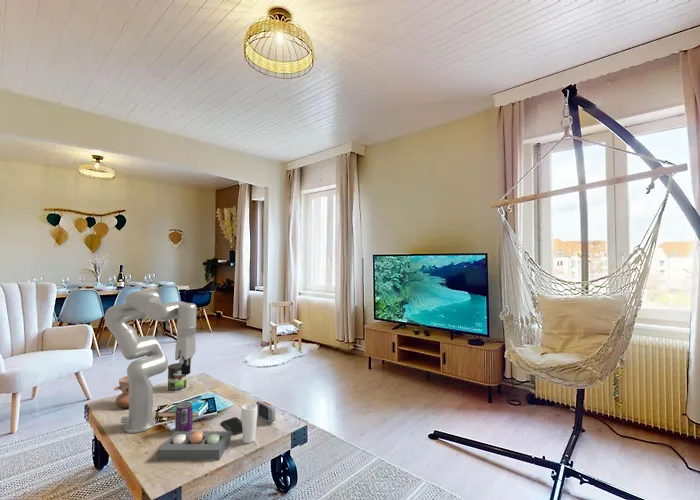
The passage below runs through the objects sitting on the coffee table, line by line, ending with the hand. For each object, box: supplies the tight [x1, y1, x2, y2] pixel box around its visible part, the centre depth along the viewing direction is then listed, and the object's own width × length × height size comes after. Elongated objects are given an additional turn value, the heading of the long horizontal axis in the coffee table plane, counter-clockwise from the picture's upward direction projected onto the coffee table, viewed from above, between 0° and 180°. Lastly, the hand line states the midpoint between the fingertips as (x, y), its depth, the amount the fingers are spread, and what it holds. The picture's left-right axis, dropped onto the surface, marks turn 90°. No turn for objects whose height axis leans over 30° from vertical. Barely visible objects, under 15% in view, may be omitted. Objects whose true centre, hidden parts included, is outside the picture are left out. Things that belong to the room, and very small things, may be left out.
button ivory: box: [173, 434, 186, 444], centre depth 142 cm, size 5×5×4 cm
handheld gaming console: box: [255, 400, 276, 423], centre depth 169 cm, size 14×3×8 cm, turn 49°
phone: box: [220, 416, 243, 436], centre depth 161 cm, size 8×1×15 cm
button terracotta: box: [190, 430, 203, 444], centre depth 142 cm, size 5×5×4 cm
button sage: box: [207, 434, 220, 444], centre depth 142 cm, size 5×5×4 cm
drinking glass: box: [240, 402, 258, 444], centre depth 150 cm, size 7×7×15 cm
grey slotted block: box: [157, 430, 232, 461], centre depth 142 cm, size 24×14×4 cm, turn 91°
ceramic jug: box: [113, 375, 152, 408], centre depth 184 cm, size 18×14×14 cm
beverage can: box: [174, 401, 194, 432], centre depth 157 cm, size 7×7×12 cm
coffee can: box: [167, 362, 187, 393], centre depth 204 cm, size 10×10×14 cm
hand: (185, 373), depth 149 cm, fingers closed
